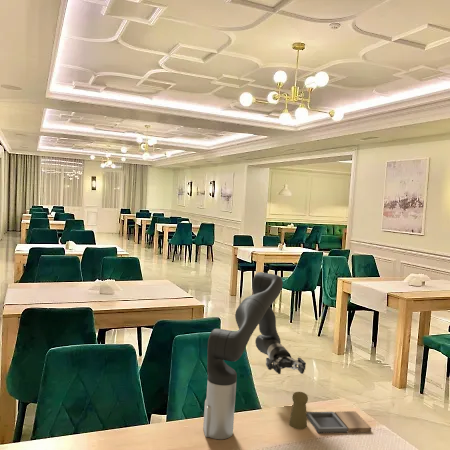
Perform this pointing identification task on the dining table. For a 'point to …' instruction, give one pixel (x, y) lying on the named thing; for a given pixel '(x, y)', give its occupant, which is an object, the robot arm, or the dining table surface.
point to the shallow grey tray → (326, 422)
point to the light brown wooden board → (353, 421)
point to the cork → (299, 411)
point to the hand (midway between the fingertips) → (291, 371)
